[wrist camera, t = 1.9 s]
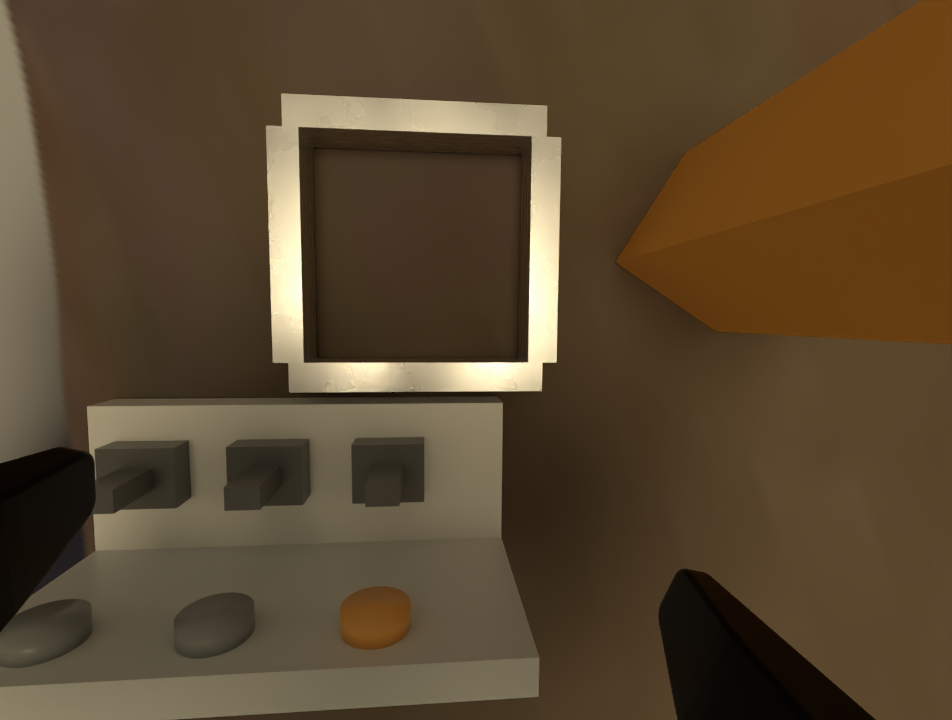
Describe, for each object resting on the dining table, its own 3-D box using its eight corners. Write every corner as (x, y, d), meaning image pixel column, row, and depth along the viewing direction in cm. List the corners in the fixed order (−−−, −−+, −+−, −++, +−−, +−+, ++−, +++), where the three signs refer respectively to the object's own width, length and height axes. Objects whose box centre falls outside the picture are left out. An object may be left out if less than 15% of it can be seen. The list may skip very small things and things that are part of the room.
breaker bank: (495, 545, 20) (538, 697, 12) (123, 557, 19) (-104, 736, 11) (497, 396, 19) (543, 451, 11) (114, 398, 18) (-131, 463, 10)
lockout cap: (715, 331, 20) (1232, 359, 7) (615, 262, 19) (981, 154, 6) (784, 225, 20) (1439, 57, 7) (685, 152, 19) (1203, -181, 6)
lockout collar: (543, 383, 20) (555, 390, 18) (290, 384, 19) (273, 392, 17) (548, 128, 19) (561, 106, 17) (283, 117, 18) (265, 92, 16)
